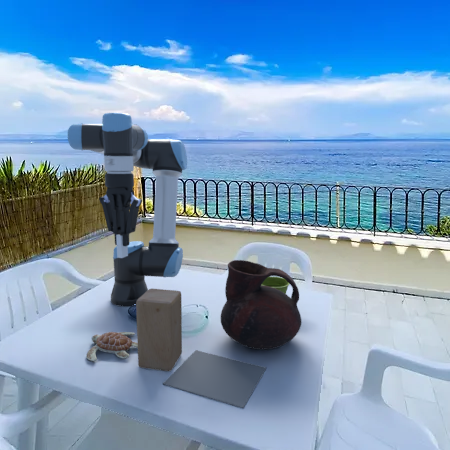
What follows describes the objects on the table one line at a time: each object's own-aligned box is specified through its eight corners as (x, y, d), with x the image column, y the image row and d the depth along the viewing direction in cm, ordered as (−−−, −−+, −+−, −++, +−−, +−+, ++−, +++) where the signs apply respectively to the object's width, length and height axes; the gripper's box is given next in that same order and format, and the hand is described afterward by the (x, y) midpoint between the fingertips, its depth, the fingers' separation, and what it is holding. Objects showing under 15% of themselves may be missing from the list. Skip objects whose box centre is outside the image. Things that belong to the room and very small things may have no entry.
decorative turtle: (112, 330, 124) (112, 317, 123) (153, 342, 117) (153, 327, 116) (69, 357, 107) (68, 341, 106) (113, 372, 100) (112, 355, 100)
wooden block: (171, 373, 100) (170, 303, 96) (136, 368, 101) (134, 300, 98) (183, 354, 109) (182, 289, 105) (151, 350, 111) (149, 287, 107)
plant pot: (260, 301, 148) (261, 275, 146) (290, 305, 145) (291, 278, 143) (254, 313, 137) (255, 285, 135) (286, 318, 134) (287, 288, 132)
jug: (295, 369, 102) (299, 283, 97) (209, 354, 109) (209, 273, 105) (303, 329, 126) (307, 258, 121) (232, 318, 133) (233, 251, 128)
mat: (195, 350, 111) (195, 350, 111) (266, 368, 102) (266, 367, 102) (162, 384, 95) (162, 383, 95) (243, 408, 86) (243, 407, 86)
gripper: (90, 172, 99) (95, 257, 104) (130, 173, 94) (133, 263, 98) (109, 171, 106) (113, 250, 110) (147, 172, 101) (149, 256, 105)
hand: (122, 256), depth 104 cm, fingers closed
